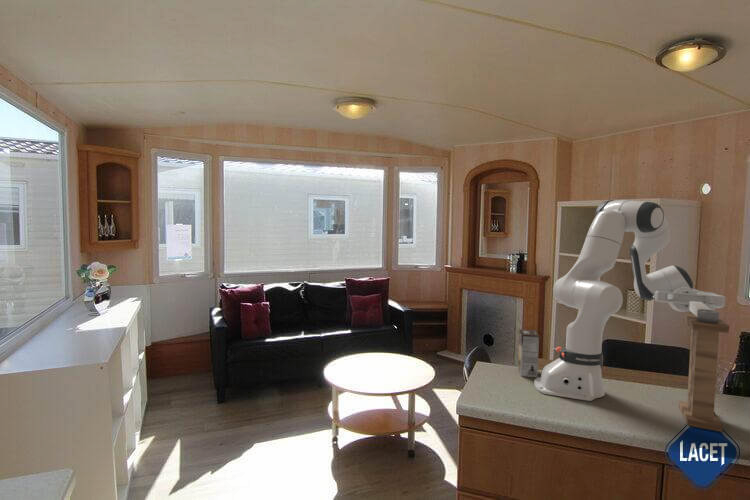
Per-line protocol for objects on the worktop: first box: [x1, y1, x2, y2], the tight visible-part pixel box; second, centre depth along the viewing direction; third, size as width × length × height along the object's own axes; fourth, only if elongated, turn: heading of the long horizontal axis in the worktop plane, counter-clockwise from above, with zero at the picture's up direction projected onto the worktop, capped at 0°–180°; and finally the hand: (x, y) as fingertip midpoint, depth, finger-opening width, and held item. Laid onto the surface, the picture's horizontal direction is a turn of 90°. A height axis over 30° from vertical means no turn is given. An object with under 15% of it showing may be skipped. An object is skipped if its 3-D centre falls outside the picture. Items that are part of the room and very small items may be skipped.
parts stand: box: [678, 313, 730, 433], centre depth 127 cm, size 14×8×30 cm, turn 153°
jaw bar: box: [689, 301, 720, 323], centre depth 130 cm, size 20×5×3 cm, turn 153°
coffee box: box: [517, 328, 540, 378], centre depth 165 cm, size 9×6×16 cm
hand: (691, 297), depth 146 cm, fingers open, 8 cm apart
